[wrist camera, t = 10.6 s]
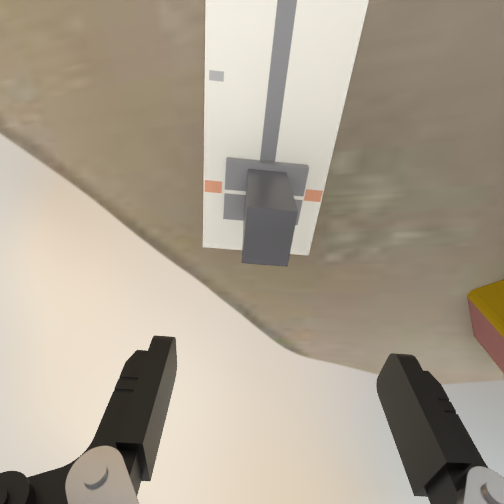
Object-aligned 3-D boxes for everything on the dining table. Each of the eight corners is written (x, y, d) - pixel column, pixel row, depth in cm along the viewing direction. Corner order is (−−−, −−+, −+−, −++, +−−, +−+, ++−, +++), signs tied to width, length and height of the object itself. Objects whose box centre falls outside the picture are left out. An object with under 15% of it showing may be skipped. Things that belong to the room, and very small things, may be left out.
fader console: (405, -214, 16) (429, -254, 14) (304, 241, 31) (308, 255, 29) (214, -246, 16) (209, -294, 13) (206, 233, 31) (202, 247, 29)
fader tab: (307, 164, 24) (328, 205, 18) (296, 221, 27) (311, 274, 20) (226, 157, 24) (218, 196, 17) (223, 214, 27) (215, 267, 20)
